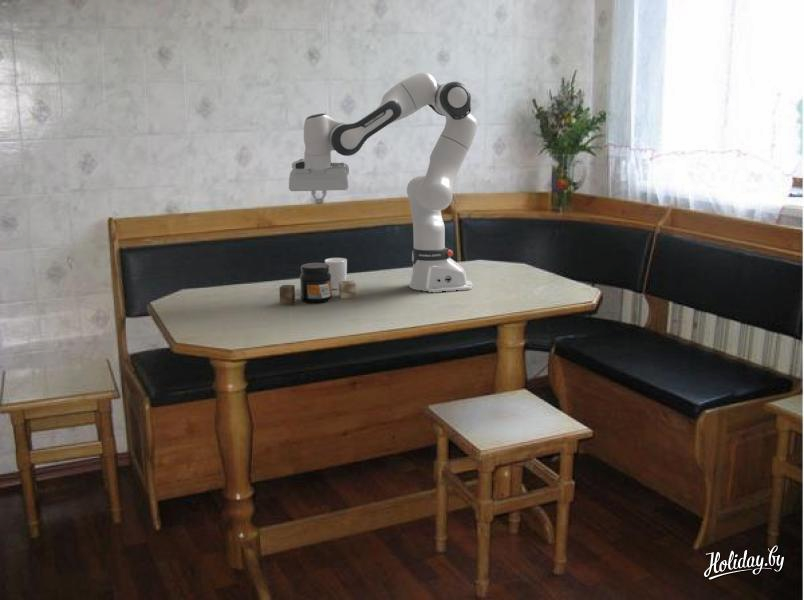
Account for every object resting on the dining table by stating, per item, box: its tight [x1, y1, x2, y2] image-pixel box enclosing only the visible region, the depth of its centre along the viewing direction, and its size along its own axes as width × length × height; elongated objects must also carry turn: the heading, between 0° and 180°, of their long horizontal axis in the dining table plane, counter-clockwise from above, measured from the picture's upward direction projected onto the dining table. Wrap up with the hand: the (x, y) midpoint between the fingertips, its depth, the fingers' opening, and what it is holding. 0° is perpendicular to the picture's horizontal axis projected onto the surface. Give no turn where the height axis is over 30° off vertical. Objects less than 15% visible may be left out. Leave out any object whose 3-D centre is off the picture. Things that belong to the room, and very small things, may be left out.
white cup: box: [324, 257, 348, 290], centre depth 305 cm, size 8×8×10 cm
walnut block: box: [278, 284, 296, 306], centre depth 283 cm, size 4×4×6 cm
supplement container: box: [299, 262, 333, 304], centre depth 287 cm, size 10×10×12 cm
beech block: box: [338, 280, 357, 300], centre depth 292 cm, size 5×5×5 cm
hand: (319, 203), depth 291 cm, fingers closed
